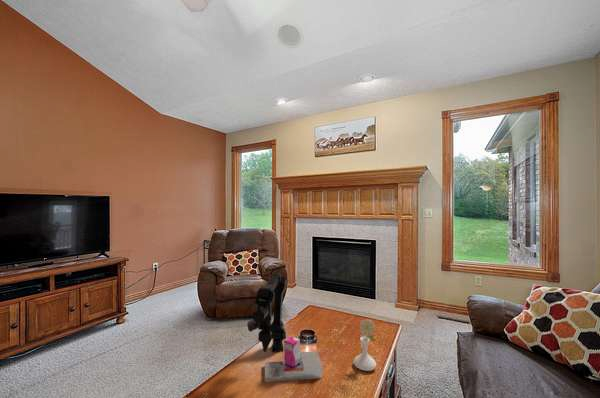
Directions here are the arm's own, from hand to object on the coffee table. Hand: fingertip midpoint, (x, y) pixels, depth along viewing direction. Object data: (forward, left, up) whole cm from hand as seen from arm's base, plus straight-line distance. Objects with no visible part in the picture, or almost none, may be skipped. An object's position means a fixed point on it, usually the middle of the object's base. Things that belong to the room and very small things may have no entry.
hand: (264, 346), depth 127 cm
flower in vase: (0, +51, -13) cm, 53 cm away
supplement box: (0, +14, -9) cm, 17 cm away
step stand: (0, +14, -13) cm, 19 cm away
